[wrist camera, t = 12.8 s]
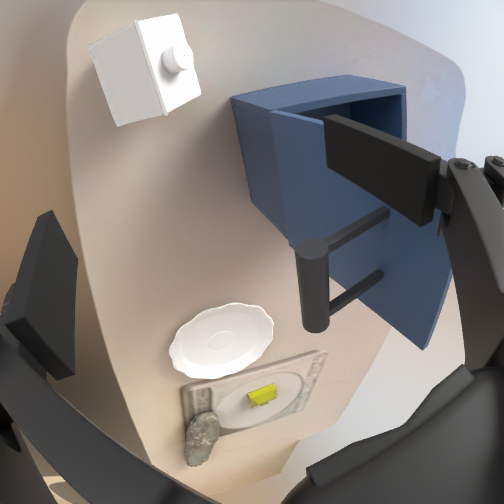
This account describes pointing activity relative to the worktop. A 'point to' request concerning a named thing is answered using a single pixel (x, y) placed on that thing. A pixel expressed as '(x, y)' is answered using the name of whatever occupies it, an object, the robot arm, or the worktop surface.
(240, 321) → the plate
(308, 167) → the cool box lid
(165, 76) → the milk carton
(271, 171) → the cool box
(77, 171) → the worktop surface
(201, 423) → the elongated rock
